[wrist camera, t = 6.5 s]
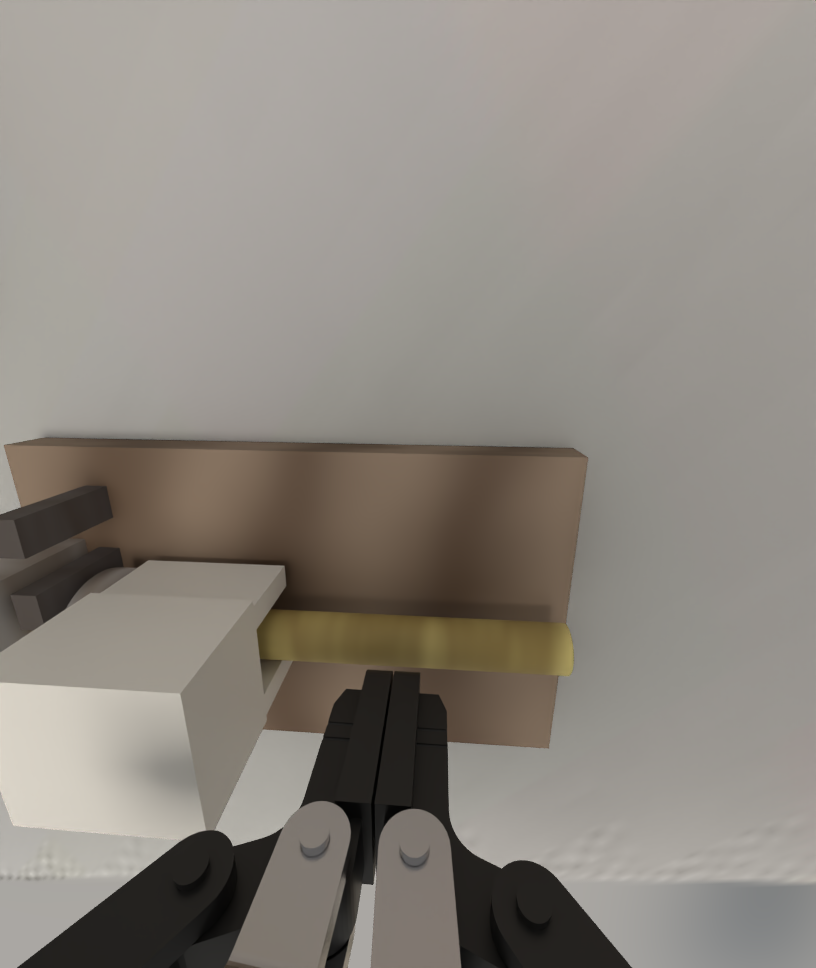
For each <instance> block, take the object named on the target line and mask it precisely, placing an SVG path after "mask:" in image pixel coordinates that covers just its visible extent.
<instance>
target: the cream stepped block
mask: <svg viewBox="0 0 816 968" xmlns="http://www.w3.org/2000/svg"><path fill="white" fill-rule="evenodd" d="M285 587H286V576H285V566H280V565H255V564H230V563H205V562H180V561H155V560H148V561H147V562H145V563H144V564H142V565H141V566H139V567H138V568H136V569H135V570H134V571H132V572H131V573H129V574H128V575H126V576H125V577H123V578H122V579H120V580H119V581H117V582H116V583H114V584H113V585H111V586H110V587H109V588H107V589H106V590H104V591H103V592H101V593H90V594H88V595H87V596H85V597H84V598H82V599H80V600H79V601H77V602H76V603H74V604H73V605H71V606H70V607H68V608H67V609H65V610H64V611H62V612H61V613H59V614H58V615H56V616H55V617H53V618H52V619H50V620H49V621H47V622H46V623H44V624H43V625H41V626H40V627H38V628H37V629H35V630H33V631H32V632H30V633H29V634H27V635H26V636H24V637H23V638H21V639H20V640H18V641H17V642H15V643H14V644H12V645H11V646H9V647H8V648H6V649H5V650H3V651H2V652H0V792H1V794H2V797H3V800H4V802H5V805H6V808H7V810H8V813H9V816H10V818H11V821H12V824H13V826H20V827H32V828H43V829H55V830H66V831H78V832H89V833H101V834H113V835H124V836H136V837H147V838H159V839H170V840H183V839H185V838H187V837H188V836H190V835H192V834H195V833H197V832H201V831H205V830H215V828H216V826H217V824H218V821H219V819H220V817H221V815H222V813H223V811H224V809H225V807H226V805H227V803H228V801H229V798H230V796H231V794H232V792H233V790H234V788H235V786H236V784H237V782H238V780H239V778H240V776H241V773H242V771H243V769H244V767H245V765H246V763H247V761H248V759H249V757H250V755H251V753H252V750H253V748H254V746H255V744H256V742H257V740H258V738H259V736H260V734H261V732H262V730H263V727H264V725H265V723H266V721H267V716H266V715H267V713H268V711H269V709H270V707H271V705H272V703H273V701H274V699H275V697H276V695H277V692H278V690H279V688H280V686H281V684H282V682H283V680H284V678H285V676H286V674H287V672H288V670H289V668H290V666H291V664H292V662H293V661H287V660H268V659H260V656H259V647H258V638H257V628H258V627H259V625H260V624H261V622H262V621H263V619H264V618H265V616H266V615H267V614H268V612H269V611H270V609H271V608H272V606H273V605H274V603H275V602H276V600H277V599H278V597H279V596H280V594H281V593H282V592H283V590H284V589H285Z"/></svg>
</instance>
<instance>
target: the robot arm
mask: <svg viewBox="0 0 816 968" xmlns="http://www.w3.org/2000/svg"><path fill="white" fill-rule="evenodd" d="M375 868H376V891H375V907H374V923H373V939H372V955H371V968H632V967H631V966H630V965H629V964H628V962H627V961H626V960H625V959H624V958H623V956H622V955H621V954H620V953H619V952H618V951H617V949H616V948H615V947H614V946H613V945H612V943H611V942H610V941H609V940H608V939H607V937H605V935H604V934H603V933H602V931H601V930H600V929H599V928H598V927H597V925H596V924H595V923H594V922H593V921H592V919H591V918H590V917H589V916H588V915H587V913H586V912H585V911H584V910H583V909H582V907H580V905H579V904H578V903H577V901H576V900H575V899H574V898H573V897H572V896H571V894H570V893H569V892H568V891H567V890H566V888H565V887H564V886H563V885H562V884H561V882H560V881H559V880H558V879H557V878H556V877H555V876H554V875H553V874H552V873H551V872H550V871H548V870H547V869H546V868H544V867H542V866H541V865H539V864H536V863H534V862H530V861H524V860H519V861H514V862H511V863H509V864H507V865H506V866H505V867H503V868H502V869H501V868H499V867H497V866H495V865H493V864H491V863H489V862H487V861H485V860H483V859H481V858H479V857H477V856H476V855H474V854H473V853H471V852H470V851H469V850H468V849H467V848H466V847H465V846H464V845H463V844H462V843H461V842H460V840H459V839H458V838H457V836H456V834H455V832H454V830H453V828H452V825H451V822H450V817H449V800H448V749H447V710H446V708H445V706H444V704H443V702H442V700H441V698H440V696H439V694H423V693H420V672H405V671H395V672H394V677H393V671H386V670H369V669H367V671H366V674H365V678H364V682H363V686H362V690H358V689H345V691H344V692H343V693H342V694H341V695H340V697H339V698H338V699H337V700H336V701H335V703H334V704H333V708H332V711H331V714H330V717H329V720H328V725H327V727H326V730H325V733H324V736H323V740H322V743H321V746H320V749H319V752H318V755H317V759H316V762H315V765H314V768H313V771H312V774H311V778H310V781H309V784H308V787H307V790H306V794H305V797H304V800H303V802H302V805H301V806H300V808H299V809H298V810H297V811H296V812H295V813H294V814H293V815H292V816H291V817H290V818H289V819H288V821H287V822H286V824H285V825H284V827H283V828H282V829H280V830H279V831H277V832H276V833H274V834H272V835H270V836H267V837H264V838H262V839H258V840H255V841H251V842H247V843H244V844H240V845H237V846H232V843H231V841H230V840H229V838H228V837H227V836H226V835H225V834H223V833H221V832H219V831H214V830H205V831H201V832H197V833H195V834H192V835H190V836H188V837H187V838H185V839H183V840H182V841H180V842H179V843H178V844H176V845H175V846H174V847H172V848H171V849H170V850H169V851H167V852H166V853H165V854H163V855H162V856H161V857H160V858H158V859H157V860H156V861H154V862H153V863H152V864H151V865H149V866H148V867H147V868H145V869H144V870H143V871H141V872H140V873H139V874H138V875H136V876H135V877H134V878H132V879H131V880H130V881H129V882H127V883H126V884H125V885H123V886H122V887H121V888H120V889H118V890H117V891H116V892H114V893H113V894H112V895H110V896H109V897H108V898H107V899H105V900H104V901H103V902H101V903H100V904H99V905H98V906H96V907H95V908H94V909H92V910H91V911H90V912H89V913H87V914H86V915H85V916H84V917H82V918H81V919H79V920H78V921H77V922H76V923H74V924H73V925H72V926H70V927H69V928H68V929H67V930H65V931H64V932H63V933H61V934H60V935H59V936H58V937H56V938H55V939H54V940H52V941H51V942H50V943H49V944H47V945H46V946H45V947H43V948H42V949H41V950H40V951H38V952H37V953H36V954H34V955H33V956H32V957H30V958H29V959H28V960H26V961H25V962H24V963H23V964H21V965H20V966H19V967H17V968H348V963H349V958H350V954H351V949H352V944H353V939H354V933H355V923H356V918H357V912H358V905H359V899H360V893H361V886H362V884H371V885H373V884H374V876H375Z"/></svg>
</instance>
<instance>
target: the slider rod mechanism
mask: <svg viewBox="0 0 816 968" xmlns="http://www.w3.org/2000/svg"><path fill="white" fill-rule="evenodd" d="M4 448H5V451H6V455H7V459H8V462H9V466H10V469H11V473H12V476H13V480H14V484H15V487H16V491H17V494H18V498H19V501H20V505H21V508H18V509H15V510H12V511H9V512H7V513H4V514H1V515H0V652H2V651H3V650H5V649H6V648H8V647H9V646H11V645H12V644H14V643H15V642H17V641H18V640H20V639H21V638H23V637H24V636H26V635H27V634H29V633H30V632H32V631H33V630H35V629H37V628H38V627H40V626H41V625H43V624H44V623H46V622H47V621H49V620H50V619H52V618H53V617H55V616H56V615H58V614H59V613H61V612H62V611H64V610H65V609H67V608H68V607H70V606H71V605H73V604H74V603H76V602H77V601H79V600H80V599H82V598H84V597H85V596H87V595H88V594H90V593H101V592H103V591H104V590H106V589H107V588H109V587H110V586H111V585H113V584H114V583H116V582H117V581H119V580H120V579H122V578H123V577H125V576H126V575H128V574H129V573H131V572H132V571H134V570H135V569H136V568H138V567H139V566H141V565H142V564H144V563H145V562H147V561H148V560H155V561H180V562H205V563H230V564H255V565H280V566H285V576H286V587H285V589H284V590H283V592H282V593H281V594H280V596H279V597H278V599H277V600H276V602H275V603H274V605H273V606H272V608H271V609H270V611H269V612H268V614H267V615H266V616H265V618H264V619H263V621H262V622H261V624H260V625H259V627H258V628H257V638H258V647H259V656H260V659H268V660H287V661H293V662H292V664H291V666H290V668H289V670H288V672H287V674H286V676H285V678H284V680H283V682H282V684H281V686H280V688H279V690H278V692H277V695H276V697H275V699H274V701H273V703H272V705H271V707H270V709H269V711H268V713H267V715H266V716H267V721H266V723H265V725H264V727H263V729H266V730H281V731H296V732H311V733H325V730H326V727H327V725H328V720H329V717H330V714H331V711H332V708H333V704H334V703H335V701H336V700H337V699H338V698H339V697H340V695H341V694H342V693H343V692H344V691H345V689H358V690H362V686H363V682H364V678H365V674H366V671H367V669H369V670H386V671H393V677H394V672H395V671H405V672H420V693H423V694H439V696H440V698H441V700H442V702H443V704H444V706H445V708H446V710H447V742H460V743H475V744H490V745H505V746H520V747H535V748H549V742H550V735H551V728H552V720H553V713H554V705H555V698H556V691H557V683H558V676H570V675H571V673H572V670H573V663H574V651H573V643H572V638H571V634H570V631H569V628H568V627H567V625H566V617H567V610H568V602H569V595H570V587H571V580H572V573H573V565H574V558H575V551H576V543H577V536H578V528H579V521H580V514H581V506H582V499H583V492H584V484H585V477H586V469H587V462H588V457H586V456H585V455H583V454H582V453H580V452H578V451H577V450H575V449H574V448H535V447H485V446H434V445H384V444H333V443H283V442H232V441H182V440H132V439H81V438H39V439H34V440H29V441H23V442H18V443H13V444H7V445H4Z"/></svg>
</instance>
